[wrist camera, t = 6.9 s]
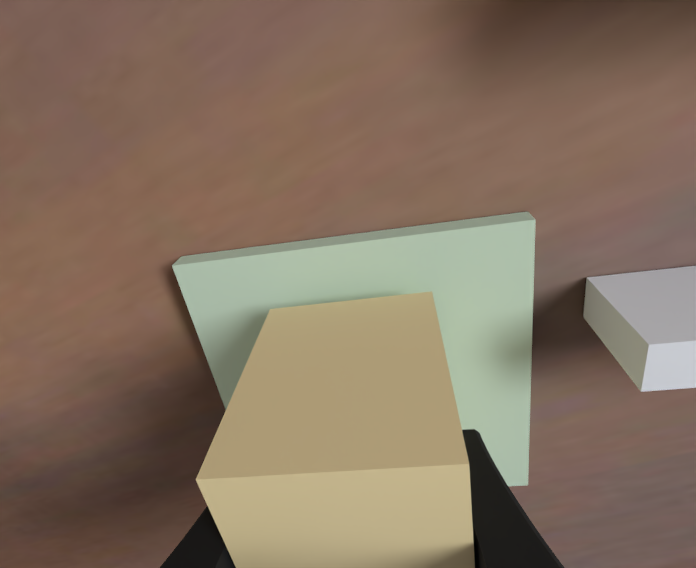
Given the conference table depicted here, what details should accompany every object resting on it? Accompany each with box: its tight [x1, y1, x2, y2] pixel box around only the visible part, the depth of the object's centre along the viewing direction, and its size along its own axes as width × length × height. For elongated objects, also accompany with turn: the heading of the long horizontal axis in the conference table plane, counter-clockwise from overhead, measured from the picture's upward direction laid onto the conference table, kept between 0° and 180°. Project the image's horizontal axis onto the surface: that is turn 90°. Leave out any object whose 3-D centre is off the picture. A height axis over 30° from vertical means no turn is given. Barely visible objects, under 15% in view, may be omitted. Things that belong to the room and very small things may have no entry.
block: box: [196, 291, 475, 568], centre depth 10 cm, size 6×4×5 cm, turn 9°
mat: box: [172, 212, 535, 486], centre depth 13 cm, size 9×9×1 cm
